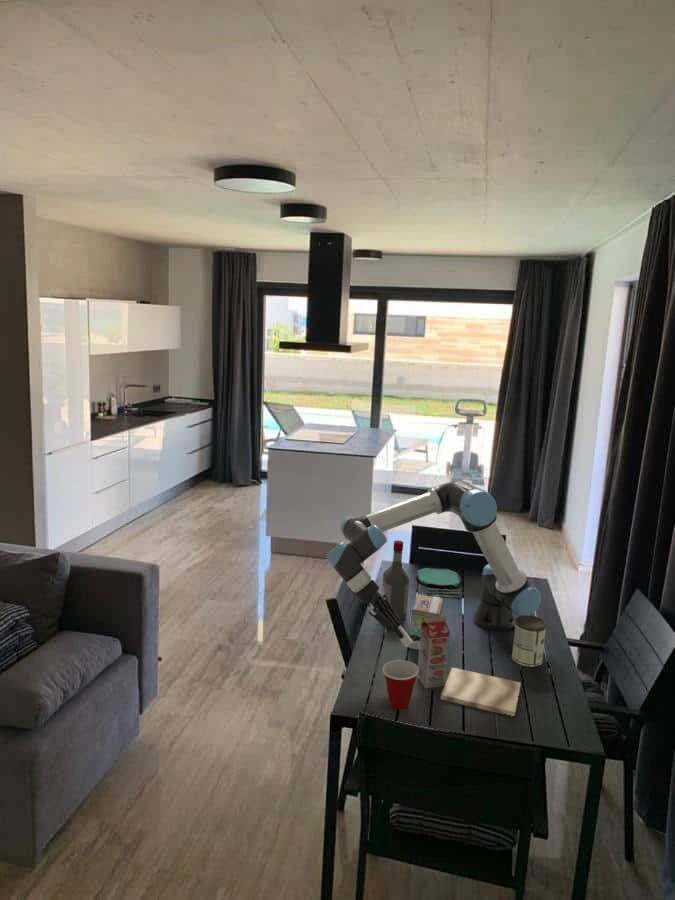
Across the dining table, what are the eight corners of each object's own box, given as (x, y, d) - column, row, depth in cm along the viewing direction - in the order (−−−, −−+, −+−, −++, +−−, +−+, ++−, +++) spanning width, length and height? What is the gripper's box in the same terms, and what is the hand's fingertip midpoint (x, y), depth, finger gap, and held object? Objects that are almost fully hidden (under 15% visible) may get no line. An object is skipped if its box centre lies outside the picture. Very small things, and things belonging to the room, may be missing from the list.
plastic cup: (377, 694, 205) (379, 658, 202) (412, 694, 206) (415, 658, 203) (382, 715, 194) (385, 677, 192) (419, 715, 195) (422, 677, 193)
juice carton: (417, 677, 216) (422, 613, 212) (436, 674, 218) (441, 611, 214) (425, 687, 210) (430, 622, 206) (444, 685, 212) (450, 621, 208)
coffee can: (512, 649, 238) (516, 612, 235) (542, 656, 234) (547, 618, 232) (510, 663, 228) (514, 624, 225) (541, 669, 225) (546, 630, 222)
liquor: (402, 610, 265) (407, 538, 260) (407, 620, 257) (413, 546, 251) (379, 610, 264) (384, 538, 258) (384, 621, 255) (389, 546, 249)
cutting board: (440, 699, 204) (441, 694, 204) (451, 671, 221) (452, 667, 220) (514, 716, 197) (515, 712, 196) (520, 686, 213) (520, 682, 213)
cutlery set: (458, 573, 309) (458, 568, 308) (466, 601, 279) (466, 595, 279) (414, 570, 310) (415, 566, 309) (418, 598, 281) (418, 592, 280)
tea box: (436, 653, 232) (440, 613, 230) (407, 648, 235) (410, 609, 232) (440, 634, 247) (443, 596, 244) (413, 630, 249) (416, 592, 246)
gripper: (361, 585, 224) (406, 641, 222) (348, 599, 212) (395, 659, 210) (377, 572, 221) (423, 630, 219) (365, 586, 209) (413, 647, 207)
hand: (409, 644), depth 214 cm, fingers closed
